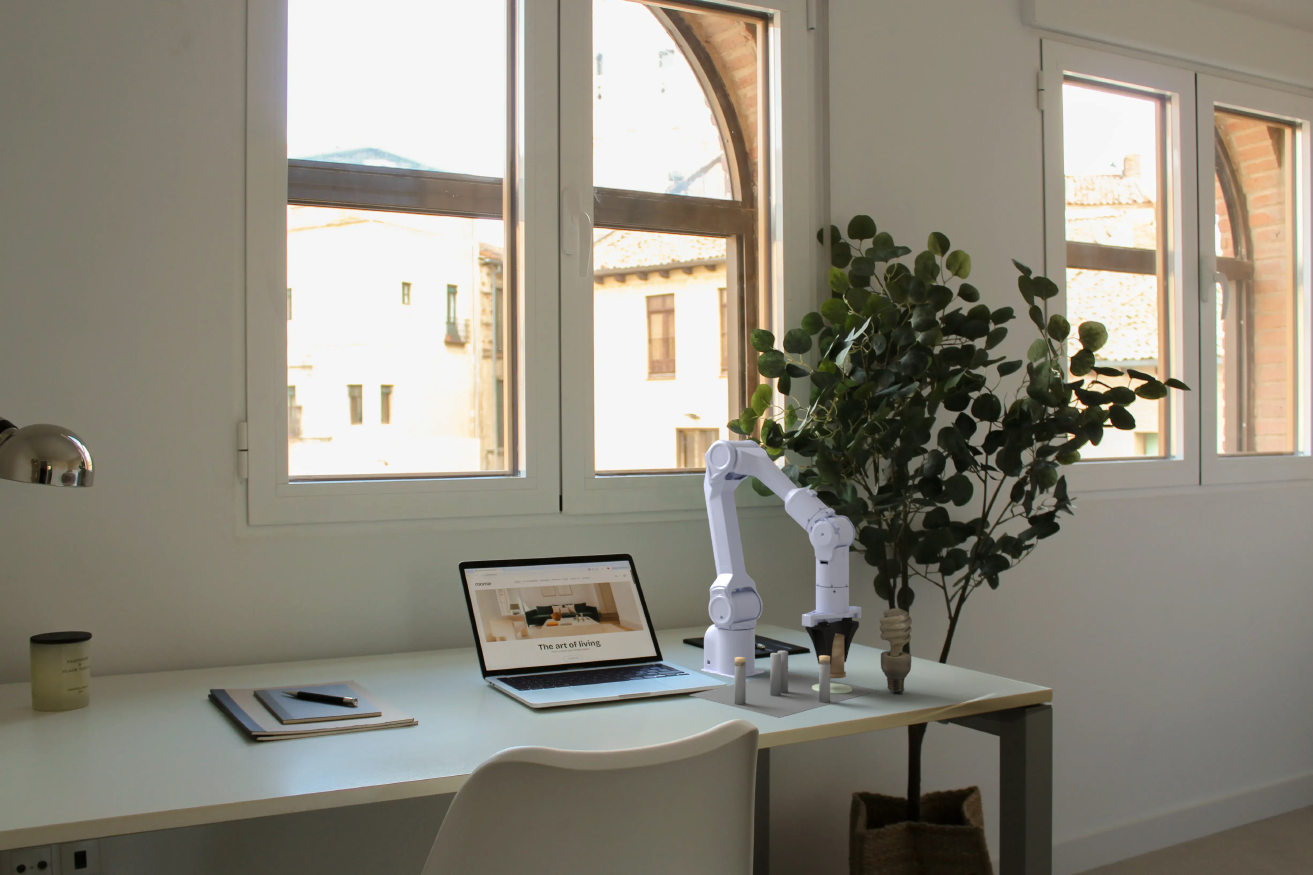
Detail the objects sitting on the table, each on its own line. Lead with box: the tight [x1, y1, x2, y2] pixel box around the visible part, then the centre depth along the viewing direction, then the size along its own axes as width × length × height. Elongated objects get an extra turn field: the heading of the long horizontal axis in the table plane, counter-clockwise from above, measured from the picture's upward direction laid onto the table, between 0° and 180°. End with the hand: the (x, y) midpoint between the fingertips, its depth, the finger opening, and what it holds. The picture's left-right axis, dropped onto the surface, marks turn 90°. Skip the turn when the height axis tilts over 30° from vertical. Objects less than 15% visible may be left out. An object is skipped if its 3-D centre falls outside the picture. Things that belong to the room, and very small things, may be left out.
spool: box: [830, 634, 847, 679], centre depth 180 cm, size 5×5×7 cm
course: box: [689, 650, 880, 719], centre depth 178 cm, size 20×27×8 cm
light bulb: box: [878, 607, 913, 695], centre depth 178 cm, size 6×6×15 cm
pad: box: [812, 683, 852, 694], centre depth 180 cm, size 7×7×1 cm
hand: (832, 663), depth 180 cm, fingers closed on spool, 4 cm apart
